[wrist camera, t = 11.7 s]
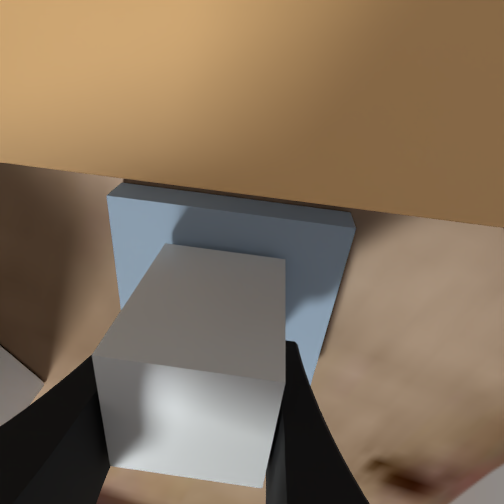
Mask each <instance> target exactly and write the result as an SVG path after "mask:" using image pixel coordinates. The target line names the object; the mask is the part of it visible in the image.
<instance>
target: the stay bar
mask: <svg viewBox="0 0 504 504" xmlns="http://www.w3.org/2000/svg"><path fill="white" fill-rule="evenodd" d="M0 162H1V163H9V164H16V165H24V166H32V167H39V168H47V169H55V170H62V171H70V172H78V173H85V174H93V175H101V176H109V177H116V178H124V179H132V180H139V181H147V182H155V183H162V184H170V185H178V186H185V187H193V188H201V189H209V190H216V191H224V192H232V193H239V194H247V195H255V196H262V197H270V198H278V199H285V200H293V201H301V202H309V203H316V204H324V205H332V206H339V207H347V208H355V209H362V210H370V211H378V212H385V213H393V214H401V215H408V216H416V217H424V218H432V219H439V220H447V221H455V222H462V223H470V224H478V225H485V226H493V227H501V228H504V0H0Z"/></svg>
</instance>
